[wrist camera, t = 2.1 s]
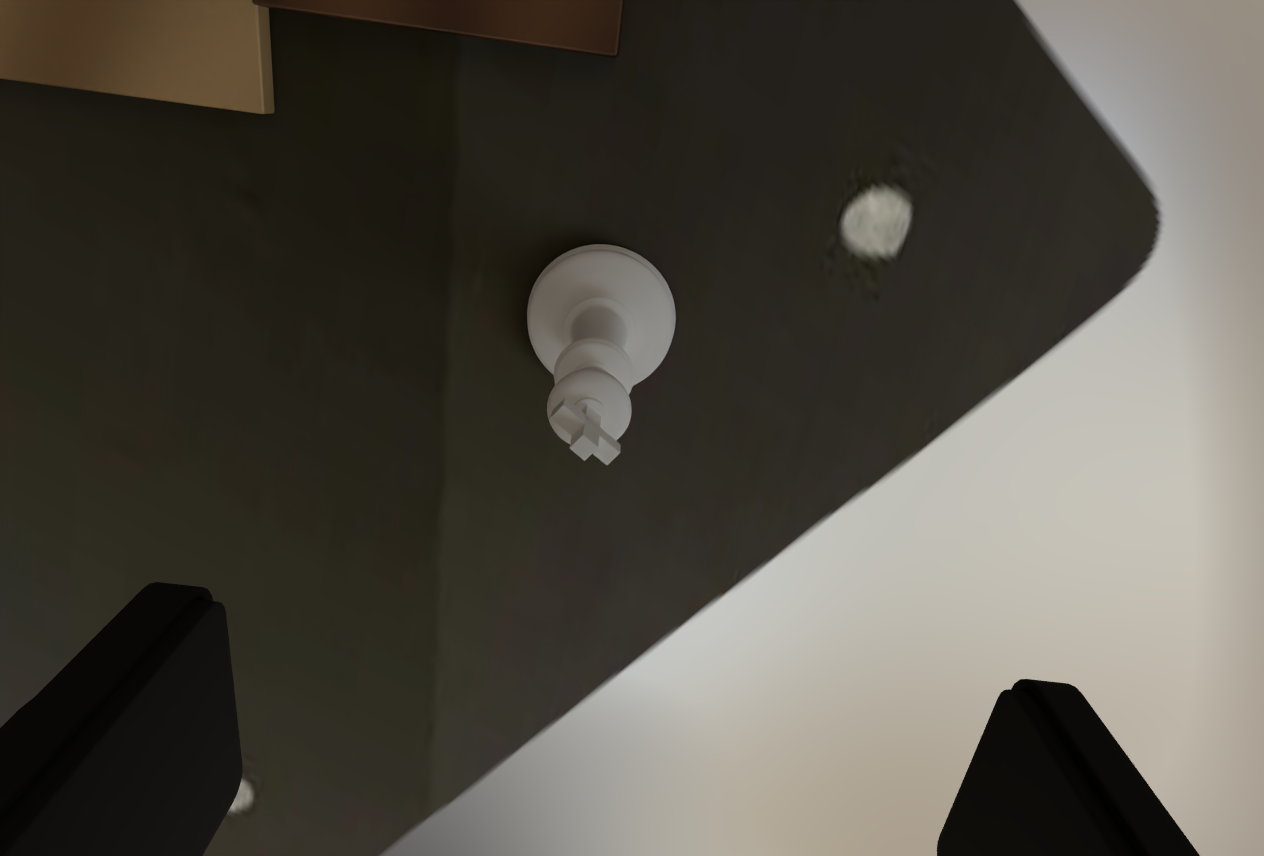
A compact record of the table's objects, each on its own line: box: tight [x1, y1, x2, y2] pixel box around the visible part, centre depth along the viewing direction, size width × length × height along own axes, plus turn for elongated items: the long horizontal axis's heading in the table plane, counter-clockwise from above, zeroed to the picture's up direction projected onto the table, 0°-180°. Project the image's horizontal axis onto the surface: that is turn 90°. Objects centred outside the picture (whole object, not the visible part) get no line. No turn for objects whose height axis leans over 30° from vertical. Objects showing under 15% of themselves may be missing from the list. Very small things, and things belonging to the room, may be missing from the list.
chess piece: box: [527, 244, 676, 465], centre depth 21 cm, size 5×5×10 cm
